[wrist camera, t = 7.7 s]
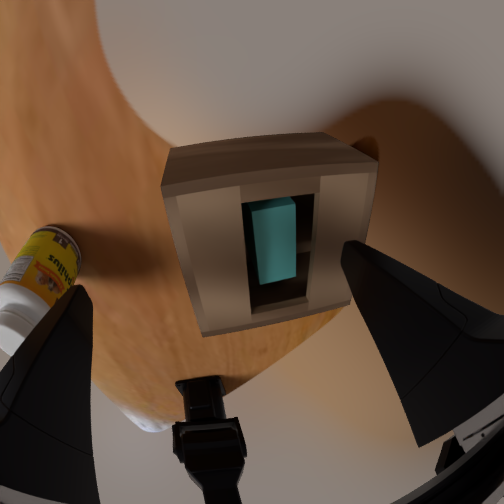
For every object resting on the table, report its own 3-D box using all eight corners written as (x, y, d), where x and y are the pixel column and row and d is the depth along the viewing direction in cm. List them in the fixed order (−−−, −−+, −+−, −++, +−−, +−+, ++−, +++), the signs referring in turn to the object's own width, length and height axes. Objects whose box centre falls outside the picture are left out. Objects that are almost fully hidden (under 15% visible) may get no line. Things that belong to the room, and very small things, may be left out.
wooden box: (315, 251, 25) (349, 304, 19) (196, 272, 23) (202, 337, 18) (323, 132, 18) (378, 162, 13) (170, 148, 17) (160, 186, 11)
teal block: (275, 236, 22) (295, 276, 18) (245, 242, 22) (260, 284, 18) (271, 173, 19) (295, 203, 15) (236, 179, 19) (251, 211, 15)
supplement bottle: (91, 272, 21) (64, 372, 13) (45, 277, 20) (10, 367, 12) (71, 217, 18) (19, 315, 10) (23, 227, 17) (-33, 315, 9)
